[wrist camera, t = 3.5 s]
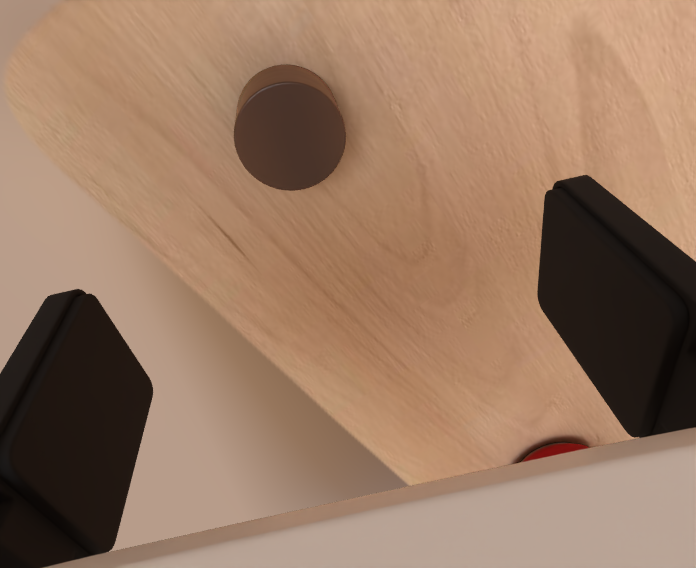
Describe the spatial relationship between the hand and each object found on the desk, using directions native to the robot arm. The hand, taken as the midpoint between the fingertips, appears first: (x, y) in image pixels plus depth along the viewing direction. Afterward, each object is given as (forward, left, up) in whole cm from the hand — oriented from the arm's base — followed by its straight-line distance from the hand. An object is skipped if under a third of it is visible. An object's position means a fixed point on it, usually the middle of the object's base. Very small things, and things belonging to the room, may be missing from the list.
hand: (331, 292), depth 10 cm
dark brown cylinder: (0, 0, -12) cm, 12 cm away
